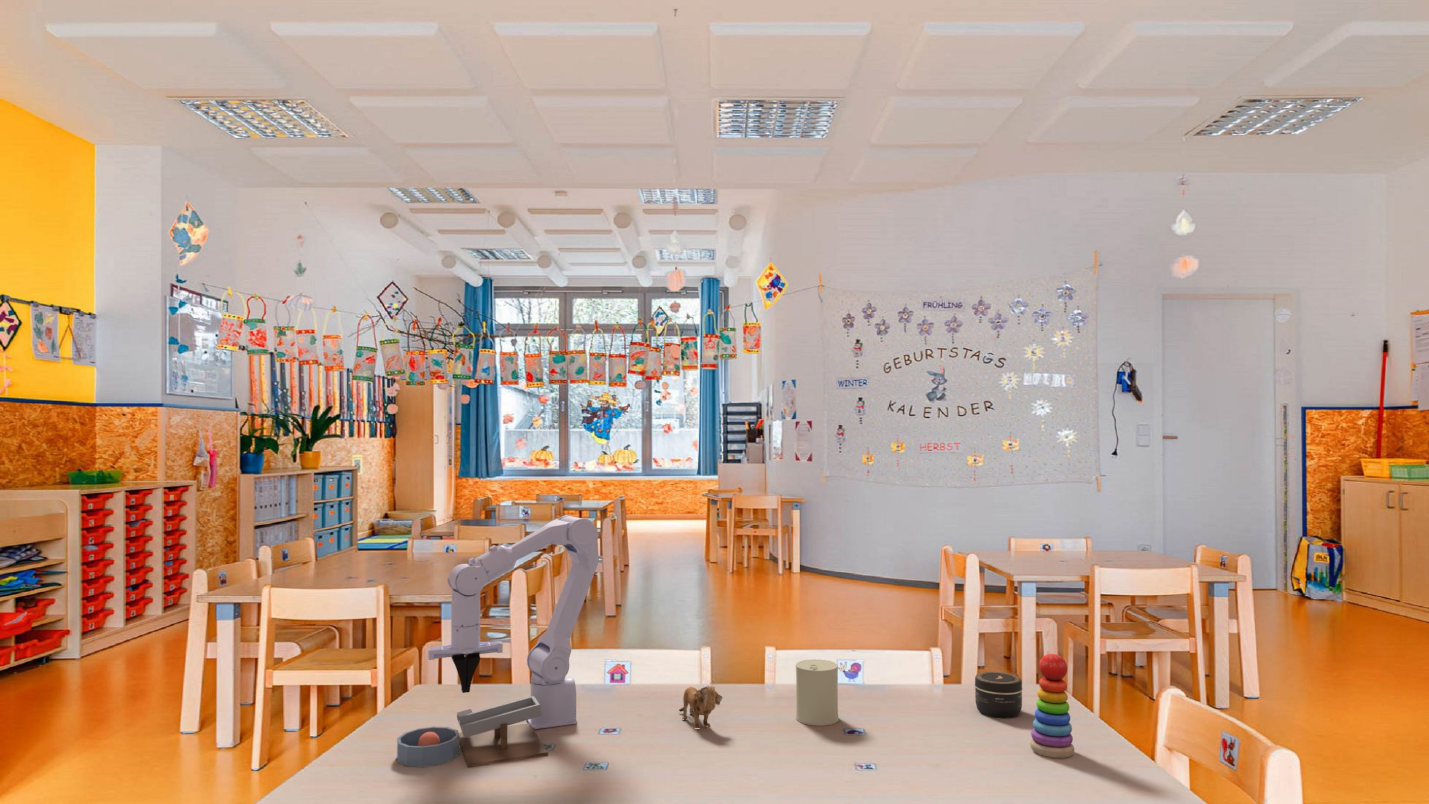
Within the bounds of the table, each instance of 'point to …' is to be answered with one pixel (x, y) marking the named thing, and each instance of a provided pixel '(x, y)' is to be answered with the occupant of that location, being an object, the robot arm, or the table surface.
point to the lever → (498, 716)
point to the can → (817, 692)
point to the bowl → (427, 747)
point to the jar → (998, 694)
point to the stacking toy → (1052, 711)
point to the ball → (429, 739)
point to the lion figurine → (700, 703)
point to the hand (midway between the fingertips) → (465, 691)
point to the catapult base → (501, 745)
